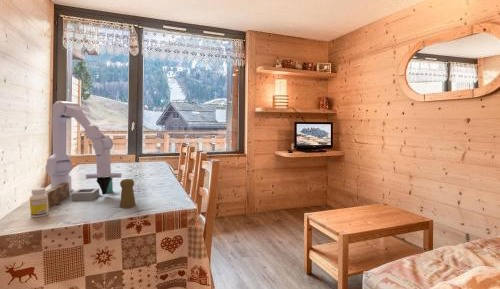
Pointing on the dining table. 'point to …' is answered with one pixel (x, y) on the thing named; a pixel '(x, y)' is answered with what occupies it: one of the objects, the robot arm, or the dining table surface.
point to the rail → (57, 193)
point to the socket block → (85, 194)
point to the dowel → (110, 187)
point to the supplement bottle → (39, 203)
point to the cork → (127, 194)
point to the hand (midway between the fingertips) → (104, 193)
